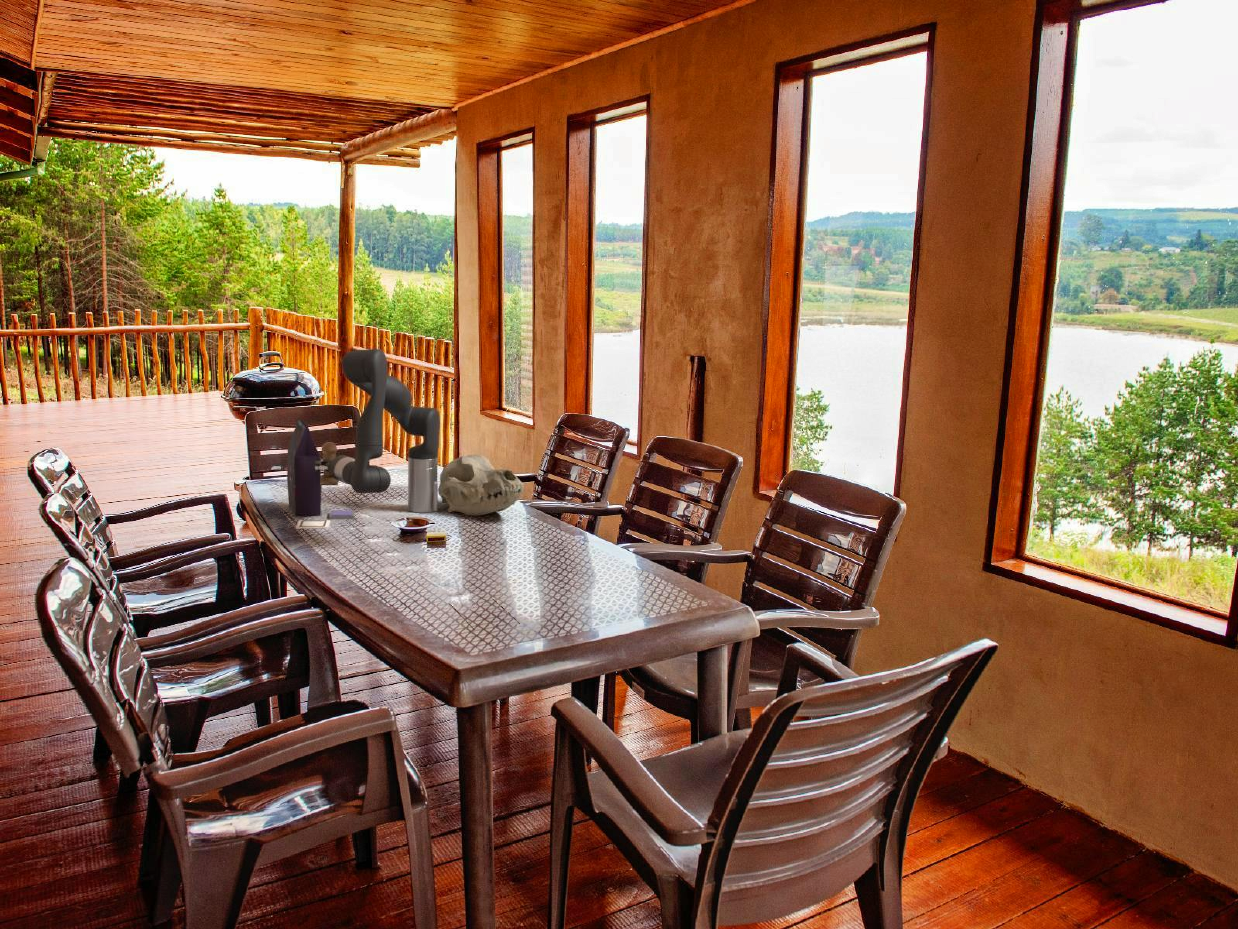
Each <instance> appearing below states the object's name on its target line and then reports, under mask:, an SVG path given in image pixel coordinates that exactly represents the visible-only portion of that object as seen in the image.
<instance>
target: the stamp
mask: <svg viewBox="0 0 1238 929" xmlns="http://www.w3.org/2000/svg"><path fill="white" fill-rule="evenodd" d="M337 451H338V446H337V445H336V444H335V443H334V442H332V441H327V442H324V443H323V445H322V446H321V453H322V459H324V460H325V459H331V460H333V459H334V458H336V457H337ZM322 471H323V474H321V477H320V484H321V485H322V486H338V485H339V483H340V481H338V480H336V479H334V478H333V477H332V475H331V474H330V472H328V471H325V470H324V469H322Z"/></svg>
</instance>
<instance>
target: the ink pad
mask: <svg viewBox="0 0 1238 929" xmlns="http://www.w3.org/2000/svg"><path fill="white" fill-rule="evenodd" d="M328 516H329V517H328V518H329V519H328V520H353V519H354V517H355V510H353V509H349V510H348V509H347V510H345V509H343V510H341V509H340V510H339V509H337V510H334V509H333V510H330V513H329V515H328Z"/></svg>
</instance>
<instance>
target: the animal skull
mask: <svg viewBox="0 0 1238 929" xmlns="http://www.w3.org/2000/svg"><path fill="white" fill-rule="evenodd" d="M439 482H440V483H439V485H438V495H439V496H440V498H441V504H445V503H446V504H448V508H447V509H446V511H447V512H448V513H451V512H460V513H462V514H464V515H466V516H472V517H473V516H474V517H475V516H482V515H487V514H490V513H494V512H503V511H505V510H507V509H508V508H510V507H511V506H512V505H513V506H514V505H515V503H516V502H517V501H518V500H519V498H520V497H521V495H523V494H524V489H525V487H524V482H522V481H521V480H520V479H519V478H518V477H517V476H516V474H514V473H513V471H512V470H508V469H504V468H501V469H495V467H494V466H493V465H492V464H491V462H490V459H488V458H487V457H486V456H484V455H482V454H477V453H475V454H469V455H461V456H460V457H457V458H455V459H453V460H451V461H450V462H448V463H447V464H446V465H445V466H443V468H442V471H441V473H440V475H439Z"/></svg>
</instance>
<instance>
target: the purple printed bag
mask: <svg viewBox="0 0 1238 929" xmlns="http://www.w3.org/2000/svg"><path fill="white" fill-rule="evenodd" d="M318 458H321V457H320V453H319V451H318V448H317V446H316V443H315V441H314V438H313V436H312V433H311V431H310V428H309V426H308V425H307V424H306V423H305V422H304V421H303V419H300V420H299V419H297V422H296V424H295V427H294V430H293V433H292V436H291V439H290V442H289V444H288V446H287V462H286V463H287V464H286V465H287V467H286V468H287V469H286V471H287V472H286V480H287V496H288V498H287V499H288V507H289V509H290V510H291V512H292V514H293V515H294V517H295V518H299V517H302V518H303V517H314V516H317V517H318V516H321V515H322V512H321V510H322V486H323V485H321V484H320V477H321V475H322V470H321V471H320V472H315V461H316V460H318Z"/></svg>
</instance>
